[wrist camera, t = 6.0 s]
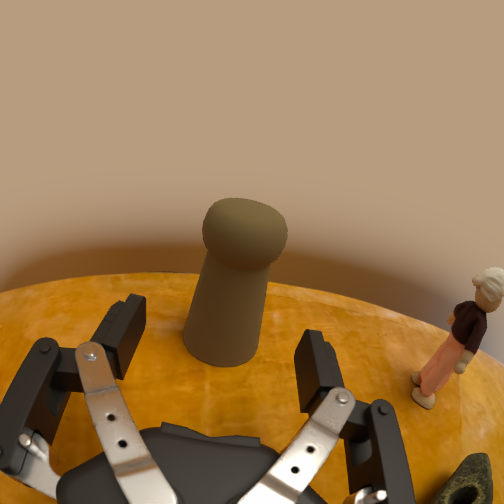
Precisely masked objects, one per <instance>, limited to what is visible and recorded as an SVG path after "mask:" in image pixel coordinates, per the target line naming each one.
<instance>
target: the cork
mask: <svg viewBox="0 0 504 504" xmlns="http://www.w3.org/2000/svg"><path fill="white" fill-rule="evenodd" d="M202 233H203V240H204V243H205V246H206V248H207V249H208V251H207V254H206V258H205V261H204V264H203V267H202V270H201V274H200V277H199V280H198V283H197V287H196V290H195V293H194V297H193V300H192V303H191V307H190V310H189V314H188V317H187V320H186V324H185V328H184V331H183V340H184V344H185V345H186V347H187V349H188V350H189V352H190V353H191V354H193V355H194V356H195V357H196V358H198V359H199V360H201V361H203V362H205V363H208V364H210V365H214V366H220V367H232V366H238V365H240V364H243V363H246V362H247V361H248V360H250V359H251V358H252V357H253V356H254V354H255V352H256V350H257V348H258V342H259V335H260V329H261V323H262V316H263V310H264V303H265V297H266V290H267V283H268V276H269V269H270V264H271V263H273V262H274V261H276V260H277V259H278V257H279V255H280V254H281V252H282V250H283V249H284V247H285V243H286V241H287V226H286V223H285V220H284V217H283V216H282V215H281V214H280V213H279V212H278V211H277V210H275V209H274V208H272V207H270V206H268V205H265V204H263V203H260V202H257V201H253V200H249V199H242V198H226V199H222V200H219V201H217V202H215V203H214V204H213V205H212V206H211V207H210V208H209V210H208V212H207V214H206V217H205V219H204V221H203V228H202Z"/></svg>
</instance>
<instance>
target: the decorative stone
mask: <svg viewBox="0 0 504 504" xmlns="http://www.w3.org/2000/svg"><path fill="white" fill-rule="evenodd" d="M492 501H493V481H492V472H491V464H490V460H489V457H488V455H487V454H486V453H475V454H471V455H468V456H467V457H466V458H465V459H464V460H463V462H462V463H461V464H460V465H459V467H458V468H457V469H456V471H455V472H454V473H453V475H452V476H451V477H450V478H449V479H448V480H447V482H446V483H445V484H444V485H443V486H442V487H441V488H440V490H439V491H438V492H437V493H436V494H435V495H434V497H433V498H432V499H431V500H430V502H429V504H492Z"/></svg>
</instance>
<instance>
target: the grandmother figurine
mask: <svg viewBox="0 0 504 504" xmlns="http://www.w3.org/2000/svg"><path fill="white" fill-rule="evenodd" d="M472 283H473V285H474V286H476V289H477V290H476V293H475V301H476V302H474V301H465V302H463V303H460V304H458V305H457V306H456V307H455V309H454V311H453V312H452V314H450V315H449V316H448V318H447V322H448V323H449V324H450V325H452V328H451V332H450V334H449V336H448V338H447V340H446V341H444V342H443V344H442V345H441V346H440V348H439V349H438V350H437V351H436V353H435V354H434V355H433V356H432V358H431V359H430V360H429V362H428V363H427V364H426V365H425V366H424V367H423V369H422V370H421V371H420V372H414V373H413V374H412V381H413V382H414V383H415V384H417V385H419V386H421V388H420V387H417V388H415V389H413V391H412V397H413V399H414V400H415V401H416V402H418V403H419V404H420V405H422V406H423V407H424V408H427V409H431V408H432V407H433V406H434V404H435V401H436V396H435V394H434V392H435V391H437V390H440V389H442V387H443V386H444V385H445V384H446V382H447V381H448V379H449V378H450V376H451V375H452V373H453V372H454V371H455V373H457V374H462V373H463V372H464V371H465V369H466V366H467V364H469V363H470V361H471V359H472V358H473V356H474V355H475V354H476V352H477V350H478V348H479V345H480V343H481V340H482V338H483V336H484V334H485V332H486V329H487V320H486V313H490V312H493V311H495V310H496V309H497V308H498V307H499V305H500V304H501V301H502V296H504V270H502V269H500V268H497V267H492V268H489V269H487V270H485V271H483V272H481V273H480V274H478V275H477V276H475V277H474V278H473V279H472Z"/></svg>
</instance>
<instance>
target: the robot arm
mask: <svg viewBox="0 0 504 504" xmlns="http://www.w3.org/2000/svg"><path fill="white" fill-rule="evenodd" d="M145 325H146V298H145V297H144V296H140V295H136V294H132V293H131V294H130V295H129V296H128V298H127V300H126V301H125V302H123V301H118V302H117V303H115V304H114V305H112V306H111V308H110V309H109V311H108V312H107V314H106V315H105V317H104V319H103V320H102V322H101V323H100V325H99V327H98V328H97V330H96V331H95V333H94V335H93V336H92V338H91V340H90V341H89V342H84V343H82V344H80V345H79V346H78V347H77V348H63V347H59V345H58V343H57V342H56V341H55V340H54V339H52V338H48V337H45V338H41V339H39V340H37V341H36V342H35V343H34V345H33V346H32V348H31V350H30V351H29V353H28V354H27V356H26V358H25V360H24V361H23V363H22V365H21V366H20V368H19V370H18V372H17V374H16V375H15V377H14V379H13V381H12V383H11V385H10V387H9V389H8V390H7V392H6V394H5V396H4V398H3V401H2V403H1V405H0V471H1V472H3V473H4V474H5V475H7V476H9V477H10V478H12V479H13V480H15V481H17V482H19V483H22V484H23V485H25V486H27V487H30V488H35V489H36V490H38V491H40V492H42V493H44V494H46V495H48V496H50V497H52V498H54V499H56V500H57V503H58V504H328V503H327V502H325V501H324V500H323V499H322V498H321V497H320V496H319V495H318V494H317V493H316V492H315V491H314V490H313V489H312V488H311V487H310V486H309V485H308V484H309V483H310V482H311V480H312V479H313V478H314V476H315V475H316V473H317V472H318V470H319V469H320V468H321V466H322V465H323V463H324V462H325V460H326V459H327V457H328V456H329V454H330V452H331V451H332V449H333V448H334V446H335V445H336V443H337V441H338V439H339V438H341V439H344V447H345V455H346V463H347V473H348V482H349V493H350V495H349V496H347V497H346V498H345V500H344V501H343V504H416V501H415V495H414V490H413V484H412V479H411V474H410V470H409V465H408V460H407V456H406V452H405V448H404V444H403V440H402V436H401V432H400V428H399V425H398V421H397V417H396V414H395V410H394V408H393V406H392V405H391V404H390V403H389V402H388V401H386V400H383V399H377V400H375V401H373V402H372V404H368V403H364V402H361V401H358V400H355V397H354V395H353V394H352V393H351V392H350V391H349V390H347V389H345V387H344V383H343V379H342V375H341V372H340V368H339V365H338V361H337V359H336V358H337V357H336V354H335V350H334V348H333V347H332V346H331V344H330V343H329V342H325V341H324V339H323V335H322V332H321V331H317V330H309V329H306V330H305V332H304V334H303V336H302V338H301V340H300V342H299V344H298V346H297V348H296V350H295V355H294V364H295V371H296V379H297V387H298V395H299V403H300V412H301V413H308V415H309V418H308V419H307V420H306V422H305V423H304V424H303V426H302V427H301V428H300V430H299V431H298V432H297V433H296V435H295V436H294V437H293V438H292V439H291V441H290V442H289V443H288V444H287V445H286V447H285V448H284V449H283V450H282V451H281V452H280V453H278V452H276V451H275V450H273V449H272V448H270V447H268V446H265V445H263V444H260V438H258V437H247V436H238V435H234V436H223V437H209V436H206V435H203V434H201V433H199V432H196V431H194V430H191V429H189V428H187V427H183V426H179V425H174V424H170V423H166V422H162V424H161V427H152V428H146V429H142V430H139V431H138V429H137V427H136V425H135V423H134V421H133V419H132V417H131V415H130V412H129V410H128V408H127V406H126V403H125V401H124V399H123V396H122V394H121V391H120V389H119V387H118V386H117V384H116V381H115V380H116V378H117V379H120V380H123V379H124V377H125V374H126V372H127V369H128V367H129V364H130V362H131V360H132V357H133V355H134V353H135V350H136V348H137V346H138V343H139V341H140V339H141V337H142V334H143V332H144V329H145ZM71 392H82V393H84V396H85V400H86V403H87V406H88V409H89V412H90V415H91V418H92V421H93V424H94V427H95V429H96V432H97V435H98V437H99V440H100V442H101V445H102V447H103V449H104V452H102V453H100V454H98V455H97V456H95V457H93V458H91V459H90V460H88V461H86V462H84V463H82V464H80V465H79V466H77V467H75V468H73V469H71V470H69V471H67V472H66V473H64V474H63V475H62V476H61V475H60V473H59V470H58V455H57V453H56V451H55V450H54V449H53V448H52V447H51V446H52V443H53V440H54V437H55V434H56V431H57V429H58V426H59V423H60V420H61V418H62V415H63V412H64V410H65V407H66V404H67V402H68V399H69V397H70V394H71Z"/></svg>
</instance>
